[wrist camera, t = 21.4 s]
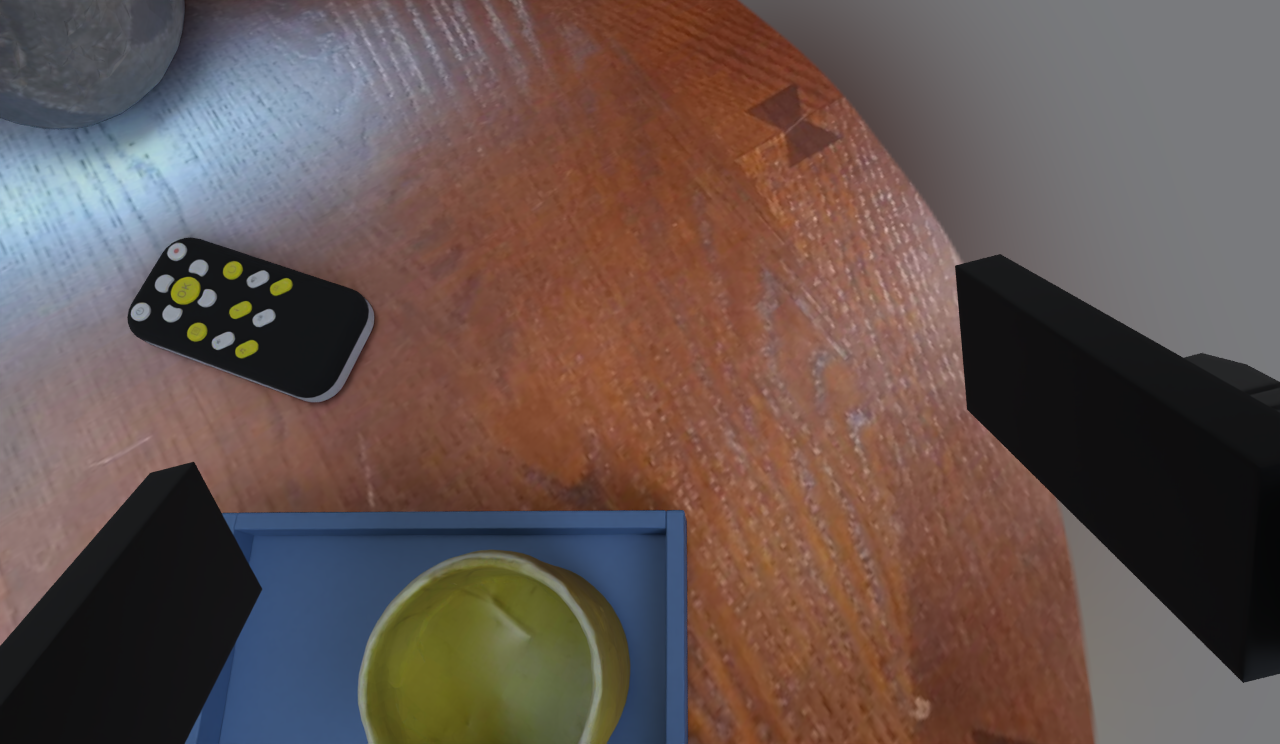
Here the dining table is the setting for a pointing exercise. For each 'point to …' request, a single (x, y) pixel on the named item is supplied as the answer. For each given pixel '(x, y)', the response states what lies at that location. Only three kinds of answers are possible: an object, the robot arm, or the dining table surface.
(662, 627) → the blue tray
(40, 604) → the robot arm
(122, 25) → the grey stone bowl
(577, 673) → the mug
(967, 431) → the dining table surface
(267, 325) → the remote control
